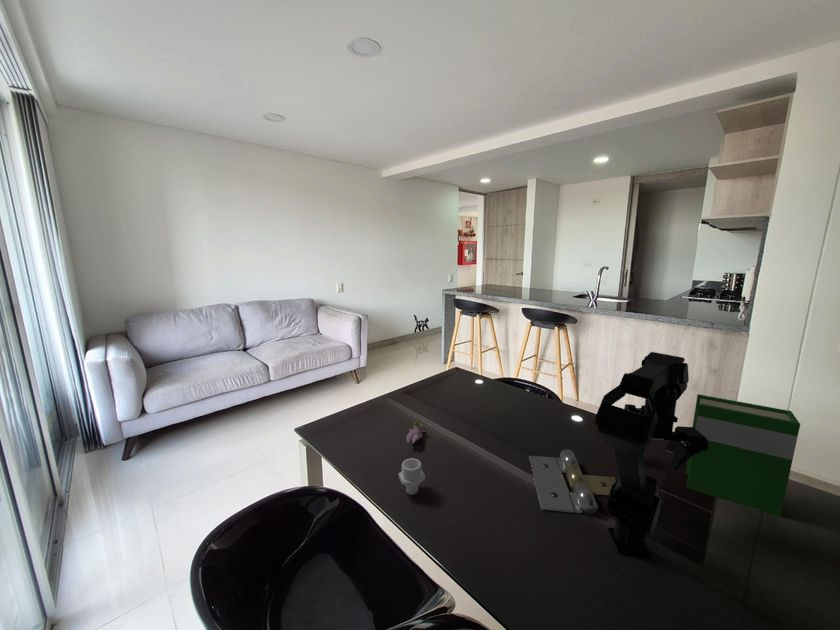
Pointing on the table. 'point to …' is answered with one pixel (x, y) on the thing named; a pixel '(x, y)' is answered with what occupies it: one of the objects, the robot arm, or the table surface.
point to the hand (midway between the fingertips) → (651, 468)
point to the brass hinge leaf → (589, 480)
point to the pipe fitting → (411, 475)
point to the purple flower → (415, 433)
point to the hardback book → (743, 452)
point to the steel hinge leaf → (560, 485)
